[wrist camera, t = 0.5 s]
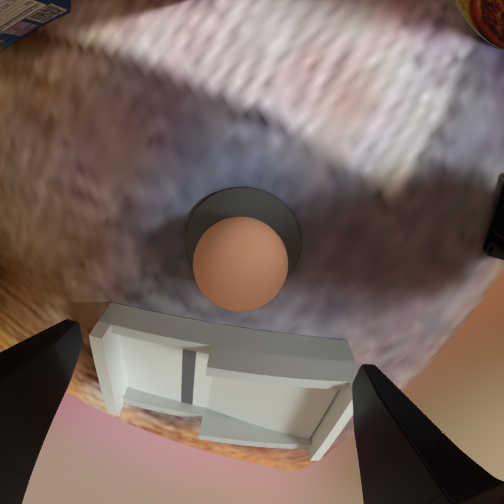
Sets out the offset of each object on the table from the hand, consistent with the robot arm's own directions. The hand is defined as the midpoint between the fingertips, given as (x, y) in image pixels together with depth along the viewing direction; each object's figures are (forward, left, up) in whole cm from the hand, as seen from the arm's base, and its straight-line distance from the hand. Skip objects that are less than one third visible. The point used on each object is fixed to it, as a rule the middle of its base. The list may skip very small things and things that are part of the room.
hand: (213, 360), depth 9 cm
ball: (0, +1, -11) cm, 11 cm away
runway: (0, +12, -11) cm, 16 cm away
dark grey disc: (0, +1, -11) cm, 11 cm away
